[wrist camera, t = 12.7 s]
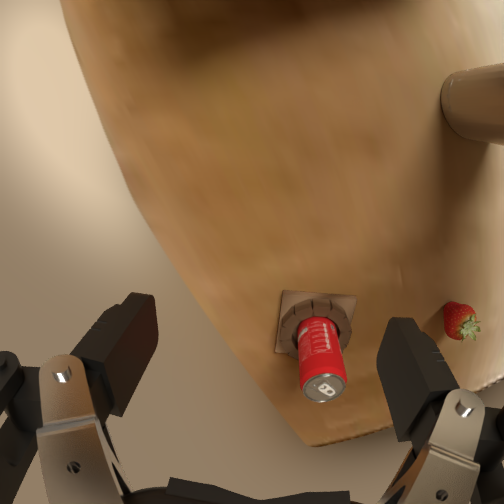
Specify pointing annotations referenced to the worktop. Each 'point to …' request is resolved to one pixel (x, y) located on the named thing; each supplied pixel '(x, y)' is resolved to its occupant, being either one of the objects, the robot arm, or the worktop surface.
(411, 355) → the robot arm
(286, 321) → the holder
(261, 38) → the worktop surface
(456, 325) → the fruit
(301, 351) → the beverage can
